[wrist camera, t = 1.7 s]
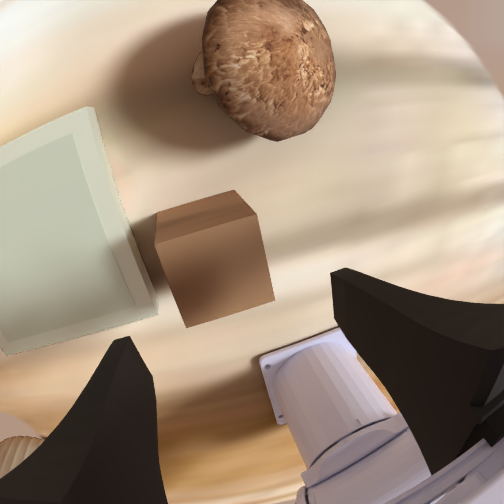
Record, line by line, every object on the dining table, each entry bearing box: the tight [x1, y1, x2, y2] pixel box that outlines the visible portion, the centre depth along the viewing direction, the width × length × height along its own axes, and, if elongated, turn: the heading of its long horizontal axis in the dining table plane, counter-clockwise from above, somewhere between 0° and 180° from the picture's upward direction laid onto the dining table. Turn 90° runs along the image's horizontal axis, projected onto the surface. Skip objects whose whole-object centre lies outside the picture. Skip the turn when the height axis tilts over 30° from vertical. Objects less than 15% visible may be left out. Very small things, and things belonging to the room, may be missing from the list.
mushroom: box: [191, 0, 336, 142], centre depth 13 cm, size 8×8×6 cm
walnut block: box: [154, 190, 275, 328], centre depth 17 cm, size 4×4×5 cm
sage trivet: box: [0, 107, 158, 356], centre depth 15 cm, size 12×12×2 cm
